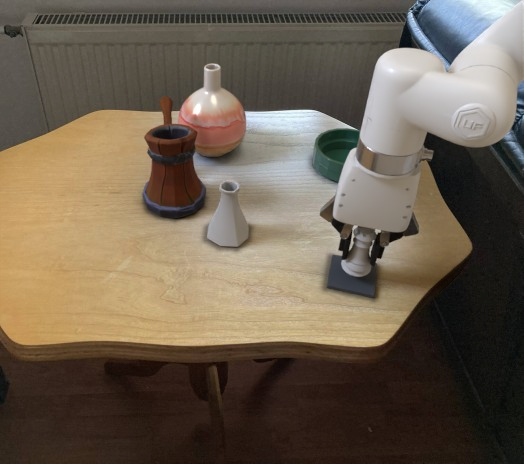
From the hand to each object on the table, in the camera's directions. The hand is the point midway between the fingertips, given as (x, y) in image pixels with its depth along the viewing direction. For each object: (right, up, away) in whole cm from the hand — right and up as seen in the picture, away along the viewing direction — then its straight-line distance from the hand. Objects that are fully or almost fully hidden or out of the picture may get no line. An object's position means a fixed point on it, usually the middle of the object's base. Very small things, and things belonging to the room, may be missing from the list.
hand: (358, 255), depth 76 cm
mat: (0, -3, +3) cm, 5 cm away
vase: (-22, +21, +30) cm, 42 cm away
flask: (-19, +3, +10) cm, 22 cm away
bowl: (+5, +17, +25) cm, 31 cm away
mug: (-29, +12, +20) cm, 37 cm away
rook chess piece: (0, -2, +2) cm, 3 cm away
